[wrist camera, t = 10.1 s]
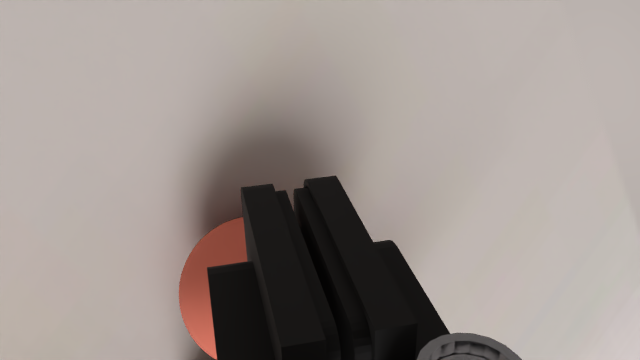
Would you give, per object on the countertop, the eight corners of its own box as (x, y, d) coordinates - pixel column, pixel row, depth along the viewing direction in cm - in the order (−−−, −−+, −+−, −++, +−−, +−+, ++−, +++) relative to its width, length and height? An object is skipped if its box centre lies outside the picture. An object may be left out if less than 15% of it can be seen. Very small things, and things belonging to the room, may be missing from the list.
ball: (195, 399, 25) (176, 264, 27) (336, 367, 26) (304, 241, 29) (184, 364, 20) (162, 202, 22) (361, 326, 21) (319, 177, 24)
